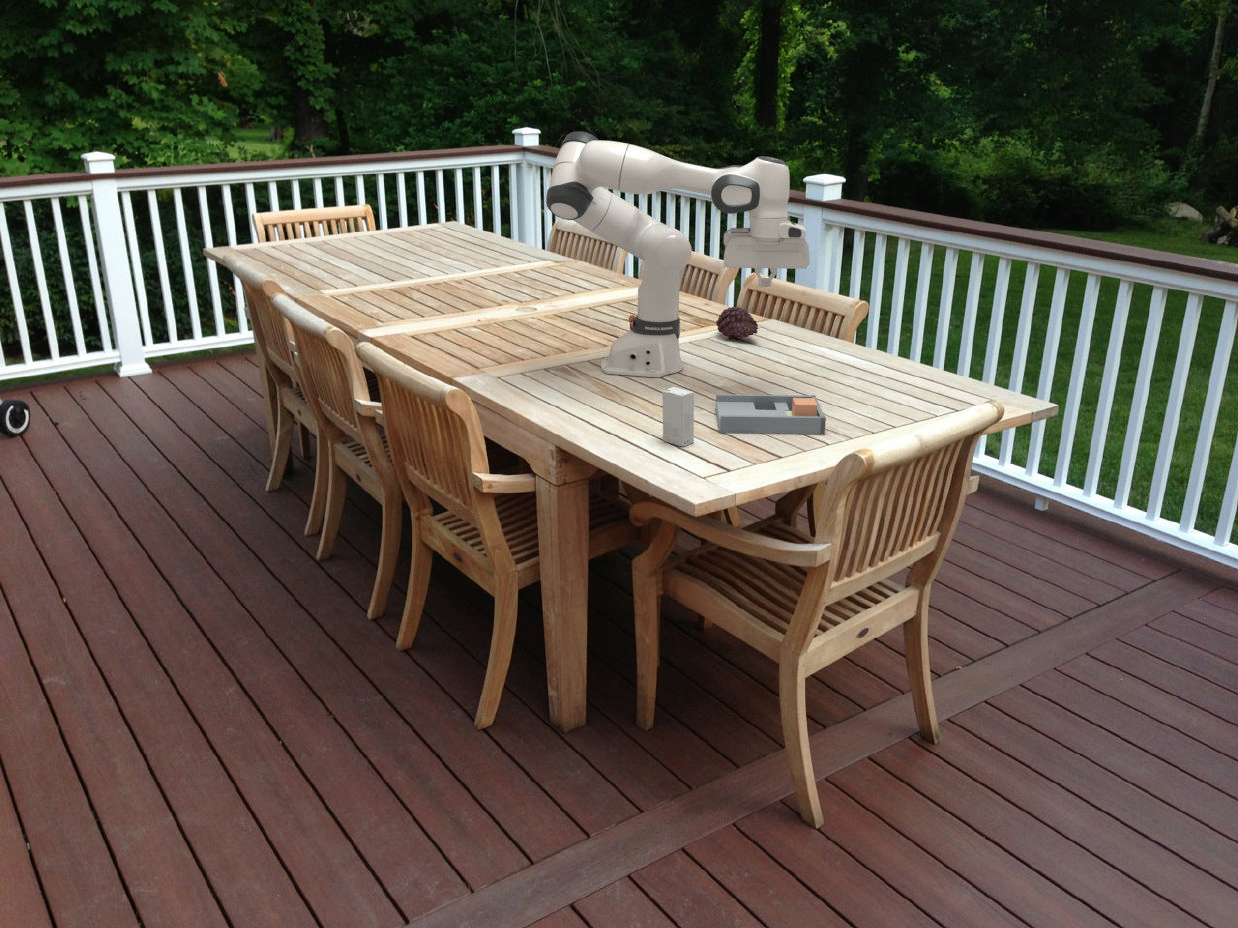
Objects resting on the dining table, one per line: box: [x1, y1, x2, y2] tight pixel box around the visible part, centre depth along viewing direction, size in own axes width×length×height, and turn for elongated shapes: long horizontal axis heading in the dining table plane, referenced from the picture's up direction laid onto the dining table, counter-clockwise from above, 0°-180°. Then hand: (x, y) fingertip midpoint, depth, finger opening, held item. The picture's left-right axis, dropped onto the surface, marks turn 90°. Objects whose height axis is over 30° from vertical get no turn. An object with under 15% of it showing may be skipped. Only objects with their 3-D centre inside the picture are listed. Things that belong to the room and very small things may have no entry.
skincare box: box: [661, 386, 695, 447], centre depth 243 cm, size 6×4×12 cm
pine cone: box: [715, 306, 759, 340], centre depth 326 cm, size 18×10×10 cm, turn 32°
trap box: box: [715, 393, 827, 435], centre depth 258 cm, size 24×17×4 cm
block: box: [792, 398, 817, 417], centre depth 254 cm, size 5×5×4 cm
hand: (764, 286), depth 262 cm, fingers closed
